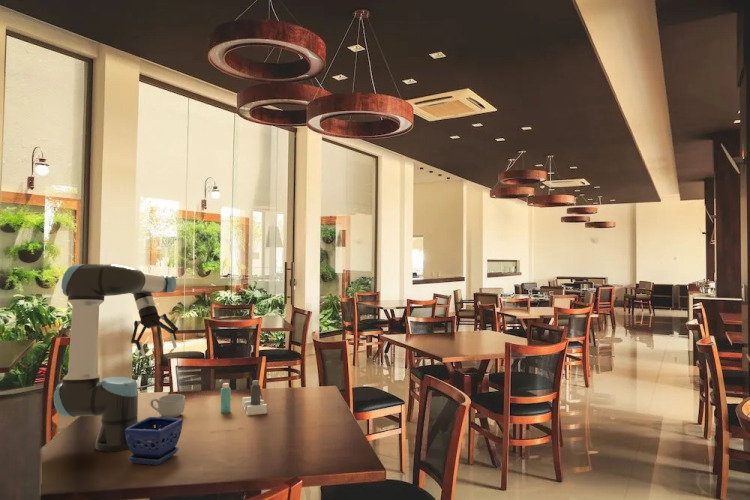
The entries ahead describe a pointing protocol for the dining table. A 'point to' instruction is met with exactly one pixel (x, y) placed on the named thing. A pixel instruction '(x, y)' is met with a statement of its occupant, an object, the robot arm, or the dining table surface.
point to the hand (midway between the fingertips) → (160, 352)
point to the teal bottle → (225, 398)
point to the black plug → (255, 393)
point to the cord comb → (253, 406)
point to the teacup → (169, 405)
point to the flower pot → (153, 439)
